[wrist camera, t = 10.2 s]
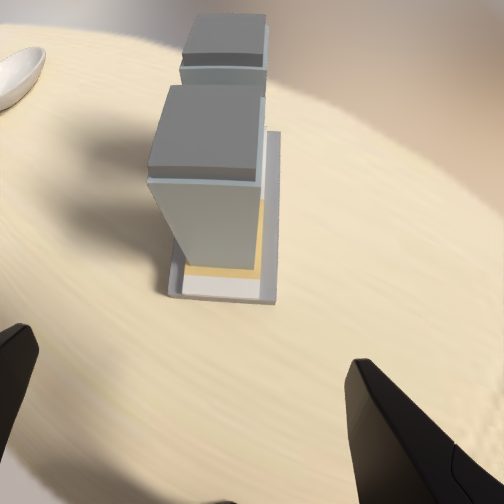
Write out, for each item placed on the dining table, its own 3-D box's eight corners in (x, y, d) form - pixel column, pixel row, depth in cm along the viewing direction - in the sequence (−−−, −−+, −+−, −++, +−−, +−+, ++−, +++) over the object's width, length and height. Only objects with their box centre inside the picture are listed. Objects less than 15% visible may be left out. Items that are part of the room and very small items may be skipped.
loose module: (254, 270, 20) (262, 174, 10) (190, 266, 20) (140, 170, 10) (257, 207, 22) (266, 83, 11) (198, 204, 22) (166, 82, 11)
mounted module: (258, 183, 22) (267, 56, 12) (202, 180, 22) (176, 56, 12) (261, 135, 24) (269, 13, 13) (209, 133, 24) (194, 12, 13)
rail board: (274, 304, 22) (277, 299, 20) (171, 297, 22) (165, 291, 20) (279, 142, 26) (281, 127, 24) (196, 138, 26) (193, 123, 24)
